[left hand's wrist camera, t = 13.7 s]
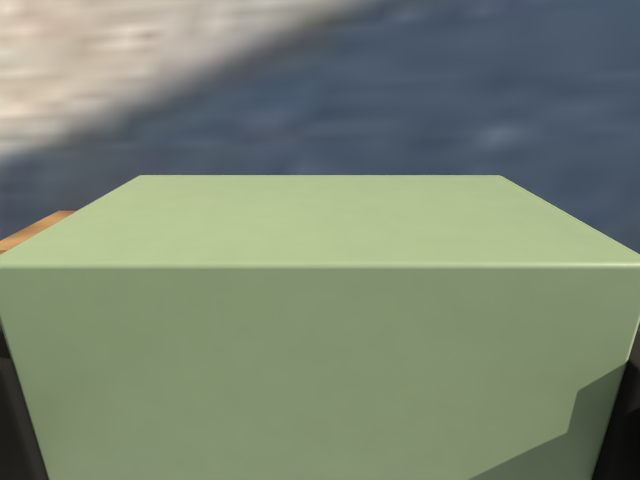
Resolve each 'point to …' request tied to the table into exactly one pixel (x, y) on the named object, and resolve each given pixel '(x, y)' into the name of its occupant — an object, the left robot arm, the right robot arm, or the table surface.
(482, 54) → the table surface
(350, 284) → the sage cap block
